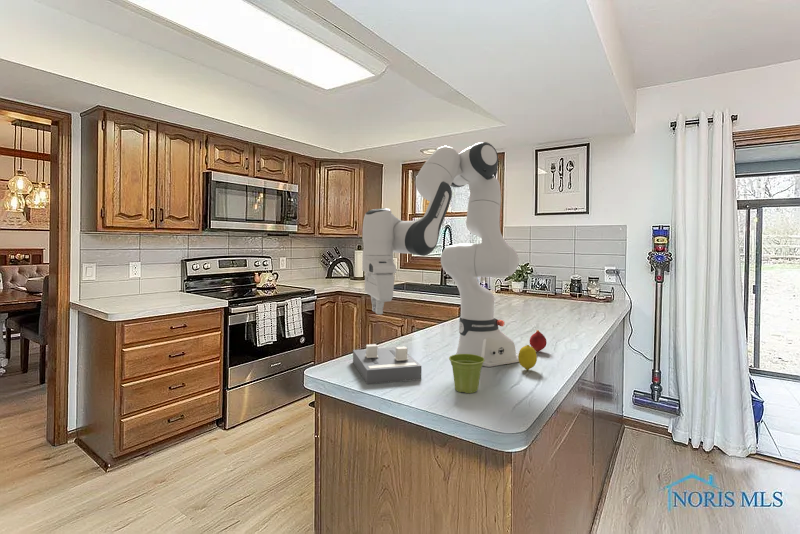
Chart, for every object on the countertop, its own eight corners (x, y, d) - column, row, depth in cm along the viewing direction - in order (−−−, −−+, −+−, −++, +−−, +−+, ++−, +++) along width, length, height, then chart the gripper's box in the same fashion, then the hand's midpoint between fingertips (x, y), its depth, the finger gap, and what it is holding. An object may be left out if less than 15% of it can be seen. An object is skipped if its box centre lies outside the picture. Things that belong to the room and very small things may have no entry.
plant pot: (460, 398, 110) (461, 365, 110) (442, 386, 119) (443, 355, 118) (490, 393, 114) (491, 361, 113) (471, 382, 122) (471, 352, 122)
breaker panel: (399, 358, 145) (399, 346, 145) (421, 379, 124) (421, 365, 124) (352, 362, 141) (353, 349, 140) (367, 384, 120) (367, 369, 119)
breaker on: (405, 357, 131) (405, 346, 131) (408, 360, 129) (408, 348, 128) (394, 358, 130) (394, 346, 130) (396, 360, 128) (397, 349, 127)
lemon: (537, 373, 131) (538, 347, 130) (518, 372, 132) (519, 346, 131) (535, 368, 136) (536, 343, 136) (517, 366, 137) (518, 342, 137)
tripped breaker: (376, 354, 134) (376, 343, 134) (378, 357, 131) (378, 346, 131) (364, 355, 133) (365, 344, 133) (366, 358, 130) (367, 346, 130)
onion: (547, 351, 157) (548, 329, 156) (543, 354, 152) (544, 332, 151) (531, 348, 160) (532, 327, 159) (527, 352, 155) (527, 330, 155)
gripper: (359, 262, 132) (359, 307, 133) (374, 267, 113) (374, 319, 114) (379, 262, 134) (379, 306, 135) (398, 267, 115) (397, 318, 116)
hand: (377, 312), depth 124 cm, fingers open, 3 cm apart
